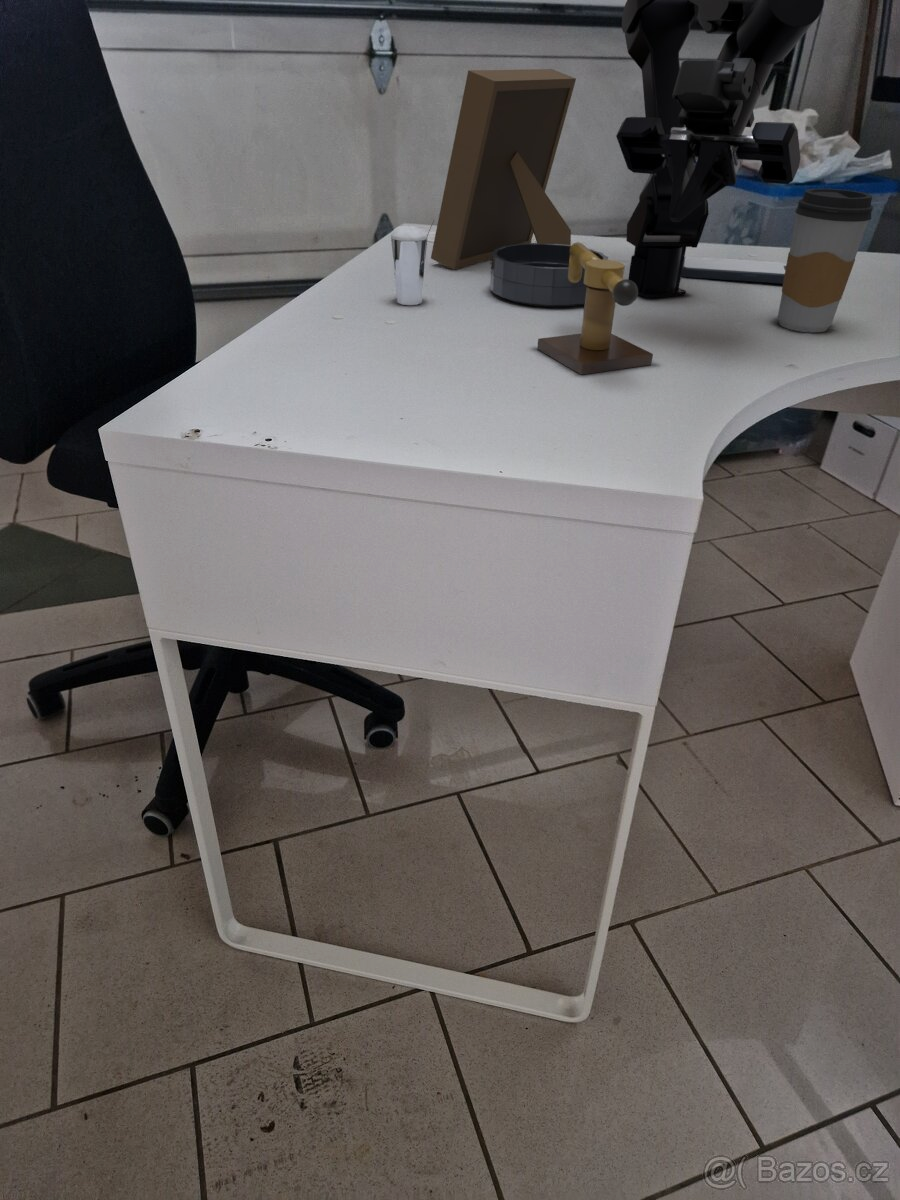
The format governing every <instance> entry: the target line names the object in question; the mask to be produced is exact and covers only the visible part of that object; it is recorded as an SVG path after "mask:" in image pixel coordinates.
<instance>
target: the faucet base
mask: <svg viewBox="0 0 900 1200" xmlns="http://www.w3.org/2000/svg"><path fill="white" fill-rule="evenodd" d="M616 304H617V303H616V302H615V300H614V298H613V293H612V292H611V291H610V290H608V289H602V288H594V287H590V286H587V289H586V297H585V304H584V307H583V315H582V322H581V323H582V324H581V333H574V334H565V335H555V336H550V337H539V338H538V339H537V348H536V349H537V350H538V351H539V352H541V353H543V354H545V355H547V356H548V357H550V358H551V359H553V360H555V361H556V362H558V363H560V364H562V365H564V366H565V367H567V368H569V369H570V370H572V371H574V372H576V373H577V374H579V375H581V376H582V375H587V374H588V375H589V374H594V373H603V372H610V371H615V370H616V371H617V370H622V369H623V370H625V369H630V368H638V367H645V366H650V365H652V363H653V357H654V354H653V353H652V352H650V351H648V350H646V349H644V348H642V347H640V346H638V345H636V344H634V343H632V342H630V341H628V340H625V339H623V338H621V337H619V336H618V335H616V334H613V333H612V331H613V324H614V316H615V310H616Z"/></svg>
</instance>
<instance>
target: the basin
mask: <svg viewBox="0 0 900 1200" xmlns="http://www.w3.org/2000/svg"><path fill="white" fill-rule="evenodd" d="M571 246H572V244H571V245H564V244H550V243H537V242H531V243H524V244H512V245H507V246H502V247H499V248H497V249H495V250H494V251H493V252H492V259H490V260H491V263H490V281H489V288H490V290H491V292H492V293H493V294H494V295H497V296H499V297H501V298H503V299H505V300H506V301H507V300H508V301H510V302H514V303H517V304H521V305H522V304H523V305H528V306H535V307H547V308H567V307H576V306H582V305H585V297H586V289H587V285H585V284H584V283H583V281H584V272H585V269H584V268H582V276H581V279H580V280H579V281H578V282H576V283H572V282H570V281H569V279H568V268H569V259H570V252H569V250H570V247H571ZM588 249H589V250H590V251H591V252H593V253H594V254H595V255H596V256H597V257H599V258H600V259H601V260H608V259H609V257H608V256H606V255H605V254H604V253H603V252H601V251H597V250H595V249H592V248H588Z"/></svg>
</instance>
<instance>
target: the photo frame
mask: <svg viewBox="0 0 900 1200" xmlns="http://www.w3.org/2000/svg"><path fill="white" fill-rule="evenodd" d="M465 79H466V80H465V85H464V91H463V94H462V99H461V104H460V110H459V115H458V120H457V125H456V129H455V134H454V139H453V144H452V150H451V155H450V160H449V165H448V170H447V175H446V180H445V185H444V189H443V194H442V199H441V204H440V209H439V215H438V220H437V225H436V229H435V235H434V238H433V239H434V240H433V243H432V244H433V246H432V250H431V254H430V255H431V256H430V259H431V260H433V261H435V262H437V263H439V264H441V265H443V266H445V267H447V268H449V269H451V270H453V271H454V270H458V269H462V268H465V267H469V266H471V265H475V264H478V263H481V262H485V261H489V260H492V252H493V251H494V250H495V249H497V248H499V247H502V246H507V245H512V244H524V243H532V240H533V236H534V238H535V241H536V243H550V244H564V245H571V246H572V229H571V228H570V227H569V225H568V224H567V222H566V221H565V219H564V218H563V217H562V215H561V213H560V212H559V211H558V209H557V208H556V206H555V205H554V203H553V202H552V201H551V199H550V197H549V196H548V195H547V193H546V190H547V186H548V183H549V179H550V175H551V173H552V168H553V165H554V160H555V157H556V153H557V150H558V146H559V142H560V139H561V135H562V131H563V128H564V125H565V121H566V117H567V114H568V109H569V106H570V103H571V99H572V95H573V91H574V88H575V85H576V81H577V78H576V77H573V76H571V75H568V74H566V73H563V72H560V71H558V70H555V69H553V68H541V69H540V68H537V69H536V68H531V69H530V68H529V69H475V70H474V69H473V70H472V69H471V70H470V69H468V70H467V75H466V78H465Z"/></svg>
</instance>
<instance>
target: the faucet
mask: <svg viewBox="0 0 900 1200" xmlns="http://www.w3.org/2000/svg"><path fill="white" fill-rule="evenodd" d="M589 249H590V248H588V247H587V246H585V245H584V244H583V243H582V242H573V243H572V244H571V247H570V250H569V252H570V259H569V268H568V279H569V281H570V282H572V283H576V282H578V281H579V280H580V279H581V276H582V268H584V269H585V272H584V281H583V283H584V284H585V285H587V286H590V287H594V288H602V289H608V290H610V291H611V292H612V293H613V298H614V300H615V302H616V303H615V304H617V305H619V306H621V307H627V306H630V305H632V304H633V303H634V302H635V301H636V300H637V297H638V295H639V294H638V288H637V286H636V284H635V283H634V282H633V281H631V280H628V278H627V279H624V274H625V273H624V272H625V264H624V263H623V262H620V261H617V260H613V259H612V260H611V259H607V260H601V259H600V258H599V257H597V256H596V255H595V254H594V253H593V252H591V251H590V250H589Z"/></svg>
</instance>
